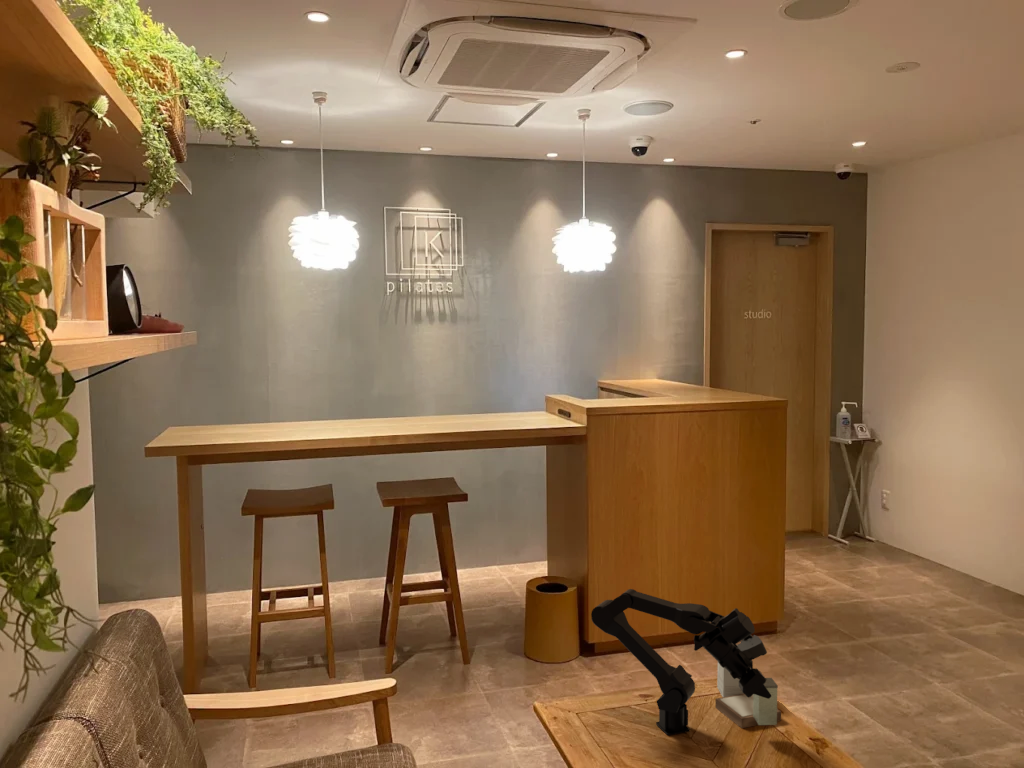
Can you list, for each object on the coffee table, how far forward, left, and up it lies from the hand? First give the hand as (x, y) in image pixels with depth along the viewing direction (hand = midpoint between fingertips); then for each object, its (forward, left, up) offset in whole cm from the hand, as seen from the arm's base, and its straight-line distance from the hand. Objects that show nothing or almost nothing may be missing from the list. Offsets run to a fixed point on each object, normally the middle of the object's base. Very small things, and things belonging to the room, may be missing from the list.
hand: (766, 692), depth 205 cm
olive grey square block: (0, 0, -7) cm, 7 cm away
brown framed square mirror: (+3, +12, -12) cm, 17 cm away
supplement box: (+7, +24, -12) cm, 28 cm away
